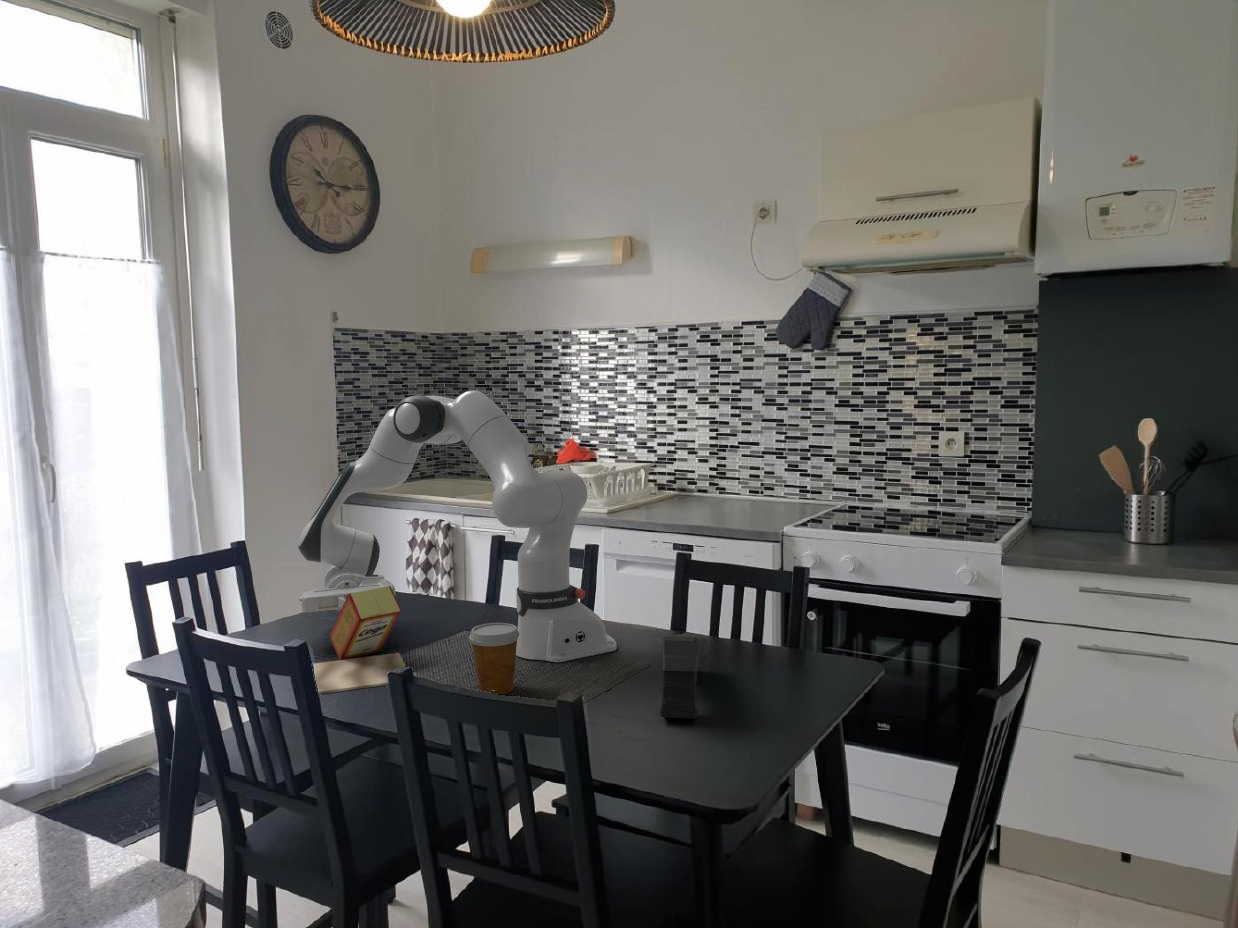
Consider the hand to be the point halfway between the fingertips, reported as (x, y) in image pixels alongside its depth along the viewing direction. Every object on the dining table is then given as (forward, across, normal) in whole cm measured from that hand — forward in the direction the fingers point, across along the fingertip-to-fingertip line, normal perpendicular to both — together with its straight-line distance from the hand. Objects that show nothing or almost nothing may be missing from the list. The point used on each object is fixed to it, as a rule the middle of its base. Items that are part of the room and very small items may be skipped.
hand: (351, 605), depth 202 cm
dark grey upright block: (+53, +55, +12) cm, 77 cm away
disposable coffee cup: (+36, +23, +11) cm, 44 cm away
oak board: (+15, 0, +11) cm, 18 cm away
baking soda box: (0, 0, +9) cm, 9 cm away
